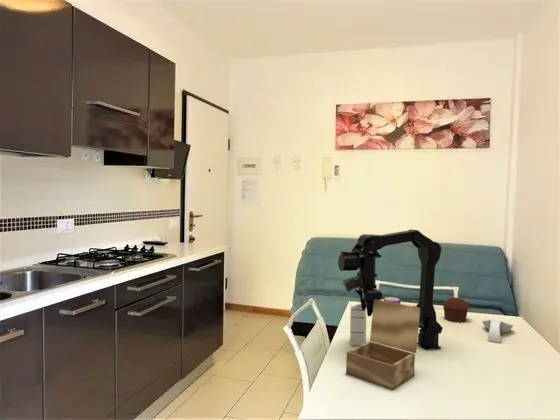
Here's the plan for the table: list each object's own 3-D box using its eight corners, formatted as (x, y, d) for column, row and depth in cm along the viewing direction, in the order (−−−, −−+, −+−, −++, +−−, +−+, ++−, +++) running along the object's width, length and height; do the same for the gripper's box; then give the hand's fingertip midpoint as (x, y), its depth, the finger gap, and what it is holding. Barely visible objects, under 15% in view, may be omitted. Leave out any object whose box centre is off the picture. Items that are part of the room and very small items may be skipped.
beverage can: (402, 325, 188) (403, 298, 187) (397, 329, 181) (398, 301, 181) (385, 322, 192) (386, 295, 192) (379, 326, 186) (380, 299, 185)
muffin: (449, 315, 206) (450, 294, 206) (472, 320, 198) (473, 298, 198) (437, 319, 198) (438, 297, 198) (461, 325, 190) (462, 302, 190)
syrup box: (365, 346, 161) (366, 307, 160) (349, 345, 162) (350, 306, 161) (365, 341, 166) (366, 304, 166) (350, 340, 168) (351, 303, 167)
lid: (369, 340, 146) (371, 340, 146) (414, 353, 135) (416, 352, 136) (373, 299, 146) (375, 299, 147) (418, 308, 136) (420, 307, 137)
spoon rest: (483, 325, 191) (483, 309, 191) (513, 329, 185) (513, 313, 185) (478, 340, 170) (478, 322, 170) (512, 346, 165) (512, 327, 164)
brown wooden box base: (369, 361, 146) (369, 341, 146) (414, 375, 135) (414, 353, 135) (346, 374, 135) (346, 352, 135) (392, 390, 125) (393, 366, 124)
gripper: (340, 265, 163) (339, 306, 164) (350, 274, 144) (349, 320, 145) (369, 265, 164) (368, 306, 164) (383, 275, 145) (382, 320, 146)
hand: (366, 313), depth 155 cm, fingers open, 7 cm apart
